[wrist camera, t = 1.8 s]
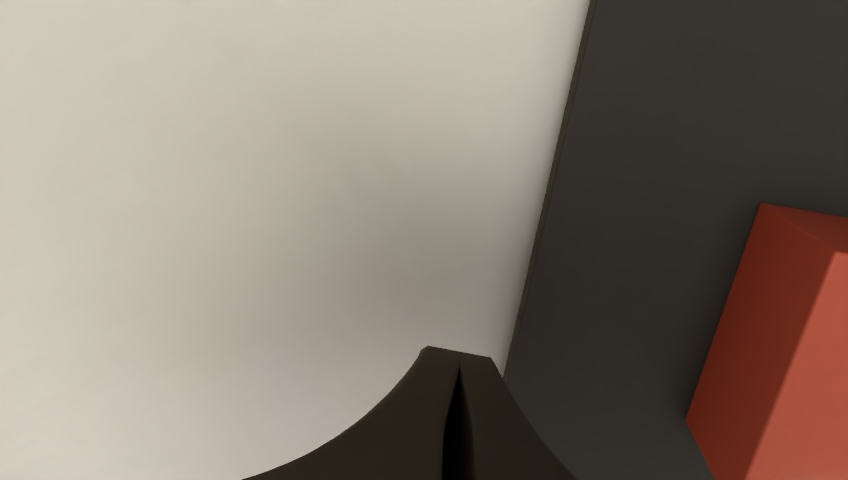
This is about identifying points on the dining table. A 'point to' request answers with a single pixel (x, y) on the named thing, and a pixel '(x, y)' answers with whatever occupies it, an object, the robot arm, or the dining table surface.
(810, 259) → the block
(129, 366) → the dining table surface
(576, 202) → the mat
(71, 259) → the dining table surface
